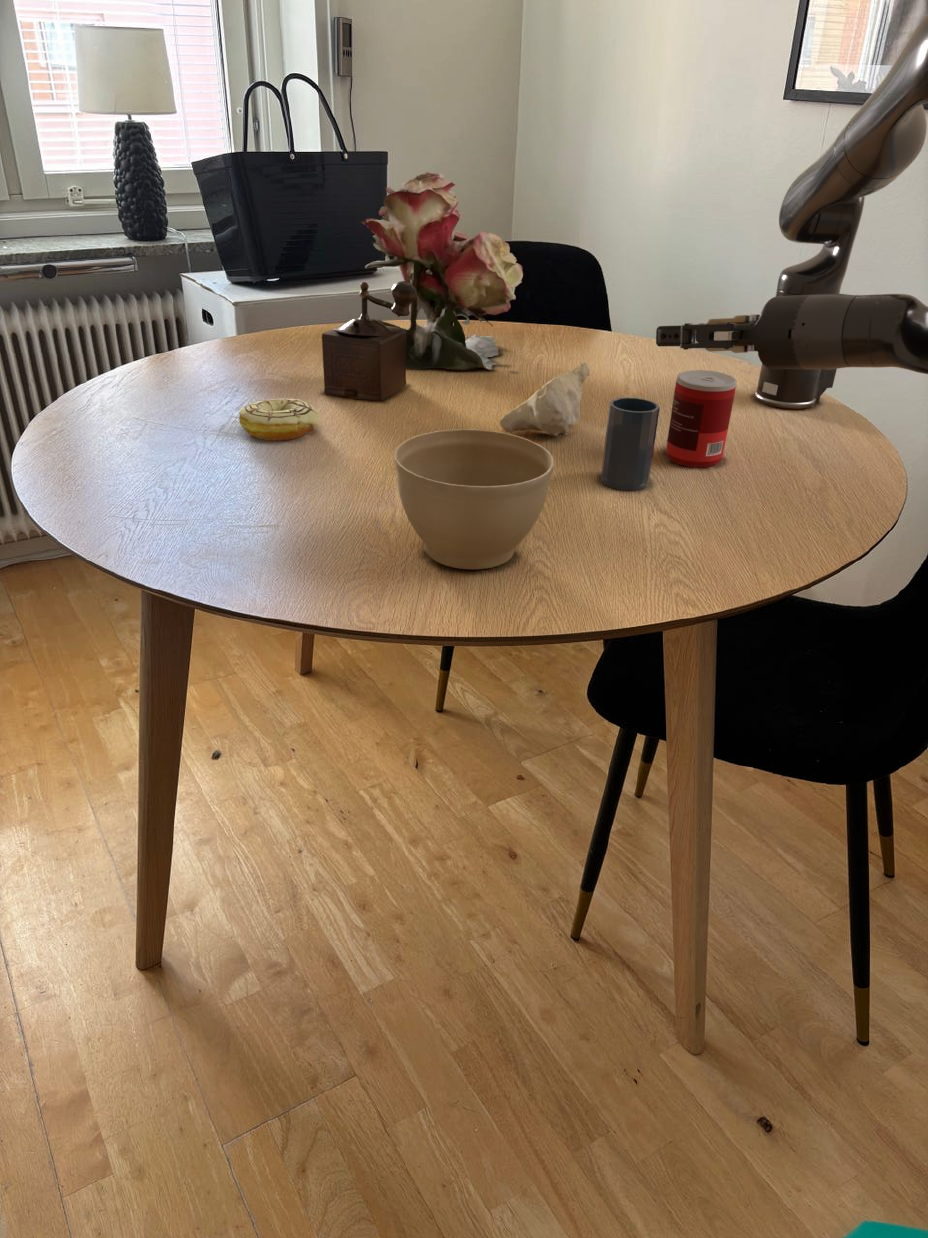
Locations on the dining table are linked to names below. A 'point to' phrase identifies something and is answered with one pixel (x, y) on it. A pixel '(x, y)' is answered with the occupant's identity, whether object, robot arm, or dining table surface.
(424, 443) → the planter bowl
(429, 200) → the rose bouquet
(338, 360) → the manual coffee grinder
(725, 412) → the canned food
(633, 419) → the tumbler
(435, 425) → the dining table surface
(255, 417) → the decorated donut
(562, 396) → the cream rock
